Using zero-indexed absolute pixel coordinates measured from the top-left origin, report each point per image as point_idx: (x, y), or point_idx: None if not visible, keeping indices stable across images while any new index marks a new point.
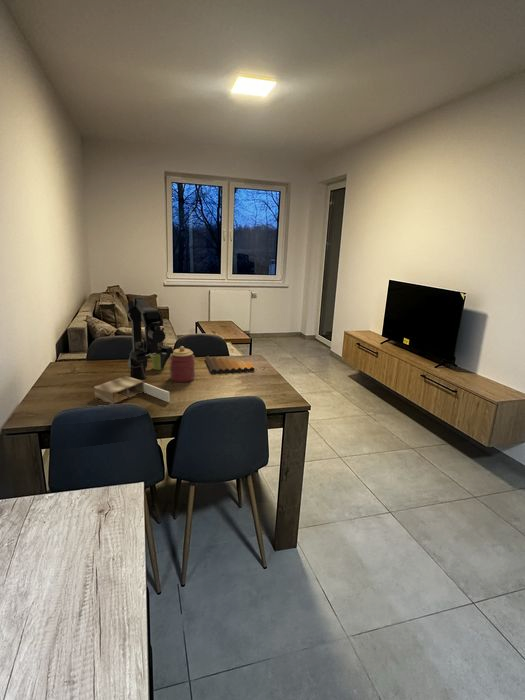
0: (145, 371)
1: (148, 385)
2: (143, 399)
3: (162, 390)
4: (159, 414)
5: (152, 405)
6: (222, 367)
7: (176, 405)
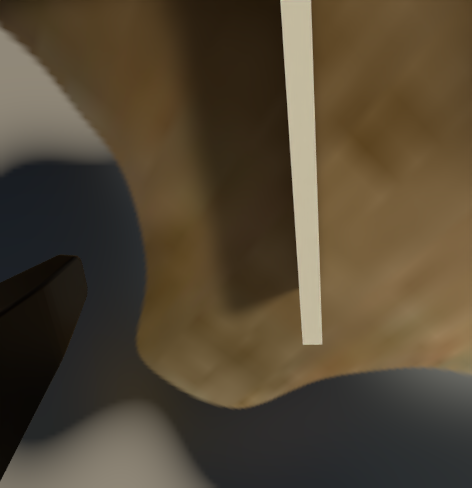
0: (72, 332)
1: (283, 37)
2: (185, 84)
3: (300, 284)
4: (156, 357)
5: (185, 239)
6: None
7: None
